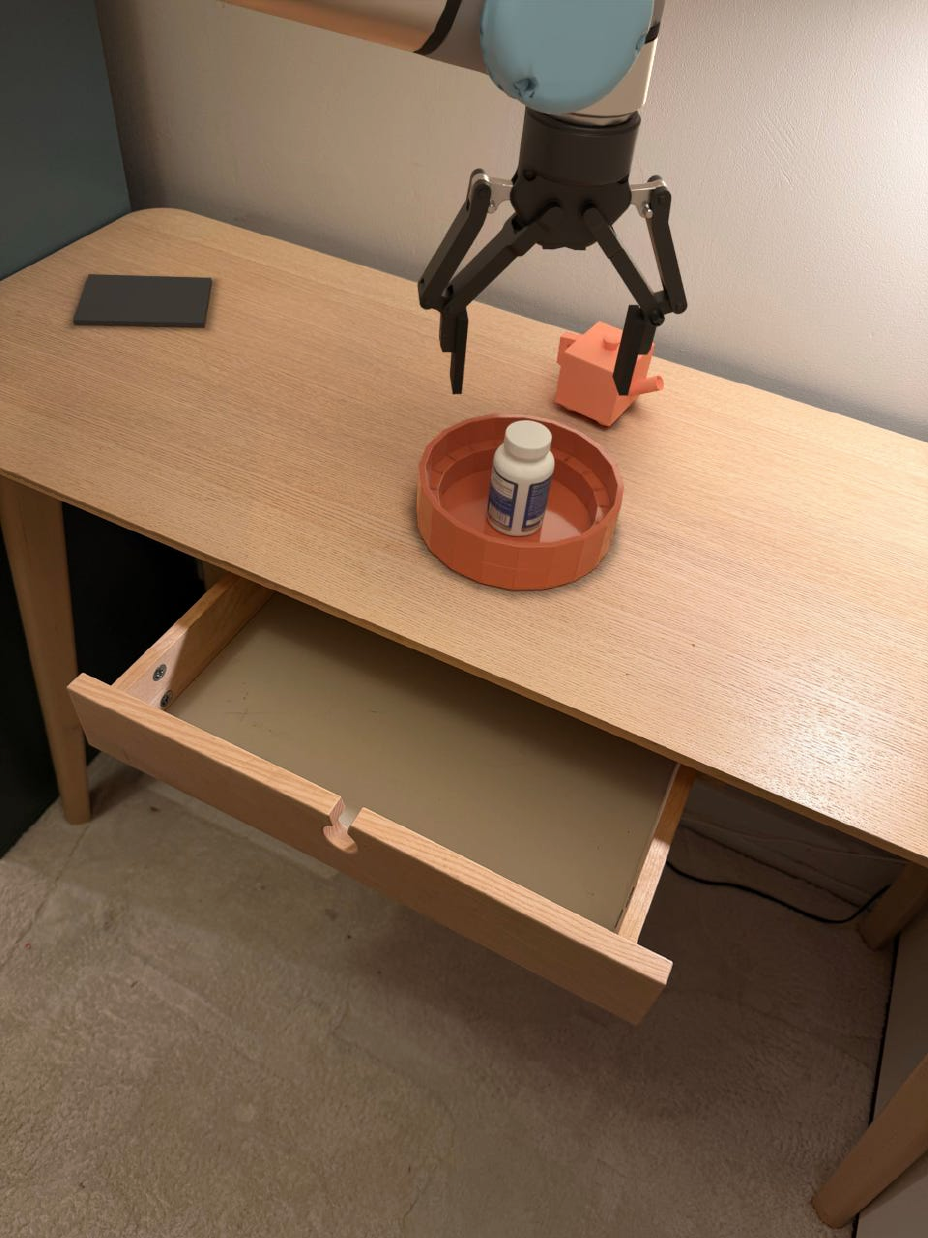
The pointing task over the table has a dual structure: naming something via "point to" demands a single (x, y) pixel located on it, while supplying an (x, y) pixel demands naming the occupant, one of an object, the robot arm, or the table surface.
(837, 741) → the table surface
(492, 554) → the bowl
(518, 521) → the pill bottle
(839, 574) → the table surface
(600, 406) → the pink cube teapot
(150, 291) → the mat
